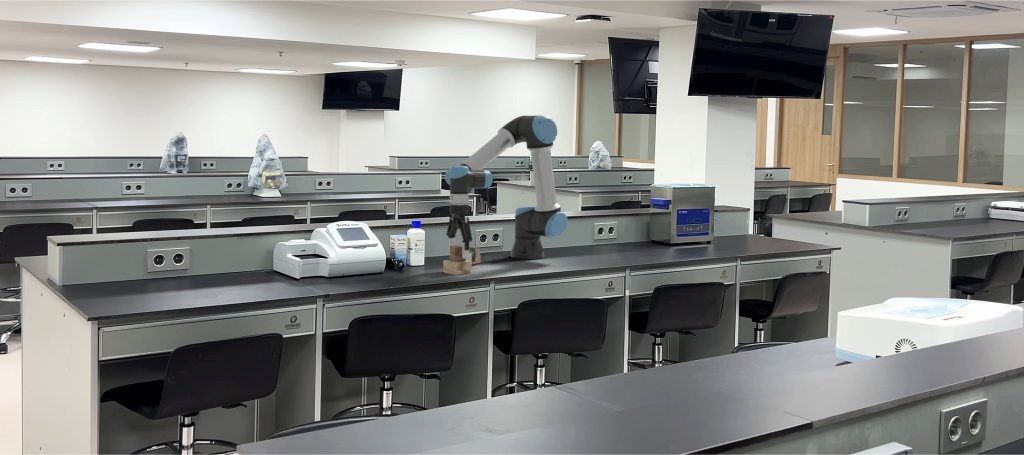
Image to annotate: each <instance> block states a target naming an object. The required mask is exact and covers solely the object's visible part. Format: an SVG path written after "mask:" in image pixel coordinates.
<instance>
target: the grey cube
mask: <svg viewBox="0 0 1024 455" xmlns="http://www.w3.org/2000/svg"><path fill="white" fill-rule="evenodd" d="M466 261H471V269H472V267H473V266H472V254H469V258H466Z"/></svg>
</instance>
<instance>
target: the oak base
mask: <svg viewBox="0 0 1024 455" xmlns="http://www.w3.org/2000/svg"><path fill="white" fill-rule="evenodd" d="M442 262H443V265H442V266H443V267H442V268H443V271H442V272H443V273H445V274H449V275H452V276H453V275H454V276H457V275H467V274H471V273H472V268H471V261H463V262H453V261H450V259H448V260H443V261H442ZM466 273H467V274H466Z"/></svg>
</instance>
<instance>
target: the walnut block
mask: <svg viewBox="0 0 1024 455" xmlns="http://www.w3.org/2000/svg"><path fill="white" fill-rule="evenodd" d="M449 260H450V261H453V262H463V261H466V258H462V245H461V244H460V245H459V244H456V246H450V254H449Z"/></svg>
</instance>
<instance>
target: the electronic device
mask: <svg viewBox="0 0 1024 455" xmlns="http://www.w3.org/2000/svg"><path fill="white" fill-rule="evenodd" d="M469 254H472V267H473V266H476V265H475V264H477V265H478V263H479V264H481V263H482V259H481V248H480V247H476V246H475V247H472V246H469Z"/></svg>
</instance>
